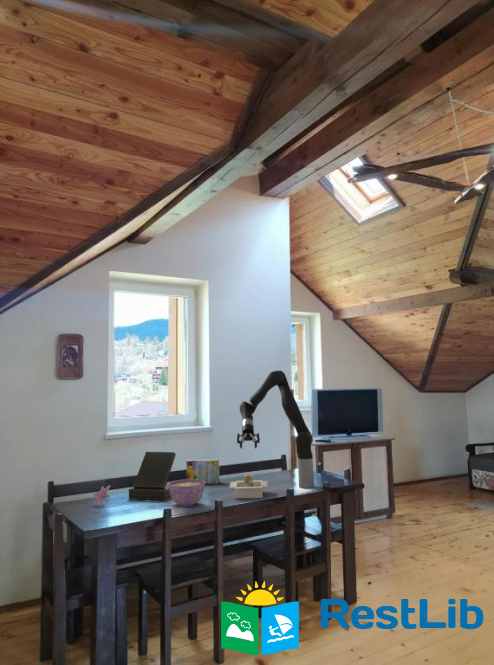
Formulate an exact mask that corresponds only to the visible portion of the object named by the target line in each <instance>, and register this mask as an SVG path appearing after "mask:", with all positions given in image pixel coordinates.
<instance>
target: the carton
mask: <svg viewBox="0 0 494 665" xmlns="http://www.w3.org/2000/svg"><path fill="white" fill-rule="evenodd" d="M263 488H268V481H267V480H261V479H260V480H256V479H255V480H254V479H253V487H244V480H236V481H230V483H229V489H234V499H256V498H257V499H260V498H261V499H262V498H264V496H263Z"/></svg>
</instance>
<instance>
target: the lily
mask: <svg viewBox="0 0 494 665" xmlns="http://www.w3.org/2000/svg"><path fill="white" fill-rule="evenodd" d="M110 488H111V485H107V486H106V487H104V485H102V486H101V487H100V491H96V492H94V493H93V494H92V496H93V497H94V498H95V501H94V503H93V505H94V504H95V505H97V504H98V505H99V507H102V506H103V503H104V500H106V502H107V503H109V501H108V498H111V496H110V494H109V493H108V491H109V490H110Z"/></svg>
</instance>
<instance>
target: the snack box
mask: <svg viewBox="0 0 494 665" xmlns="http://www.w3.org/2000/svg"><path fill="white" fill-rule="evenodd" d="M186 479H199V480H204V481H205V485H206V484H210V485H211V484H216V485H217V484H219V483H220V459H219V458H217V459H215V458H214V459H213V458H212V459H188V460H186Z"/></svg>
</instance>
